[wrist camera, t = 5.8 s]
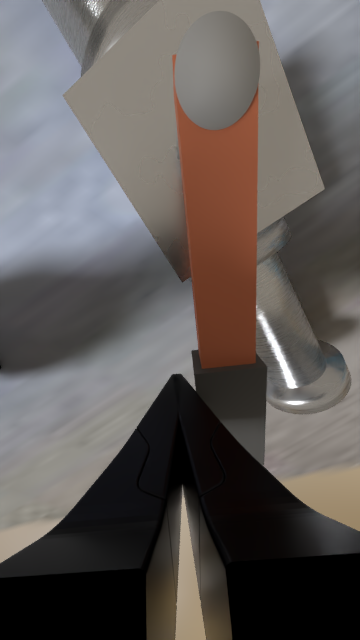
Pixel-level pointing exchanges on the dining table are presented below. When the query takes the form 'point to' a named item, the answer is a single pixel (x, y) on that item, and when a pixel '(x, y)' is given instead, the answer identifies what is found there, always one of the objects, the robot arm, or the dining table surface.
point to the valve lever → (223, 216)
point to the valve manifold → (165, 170)
